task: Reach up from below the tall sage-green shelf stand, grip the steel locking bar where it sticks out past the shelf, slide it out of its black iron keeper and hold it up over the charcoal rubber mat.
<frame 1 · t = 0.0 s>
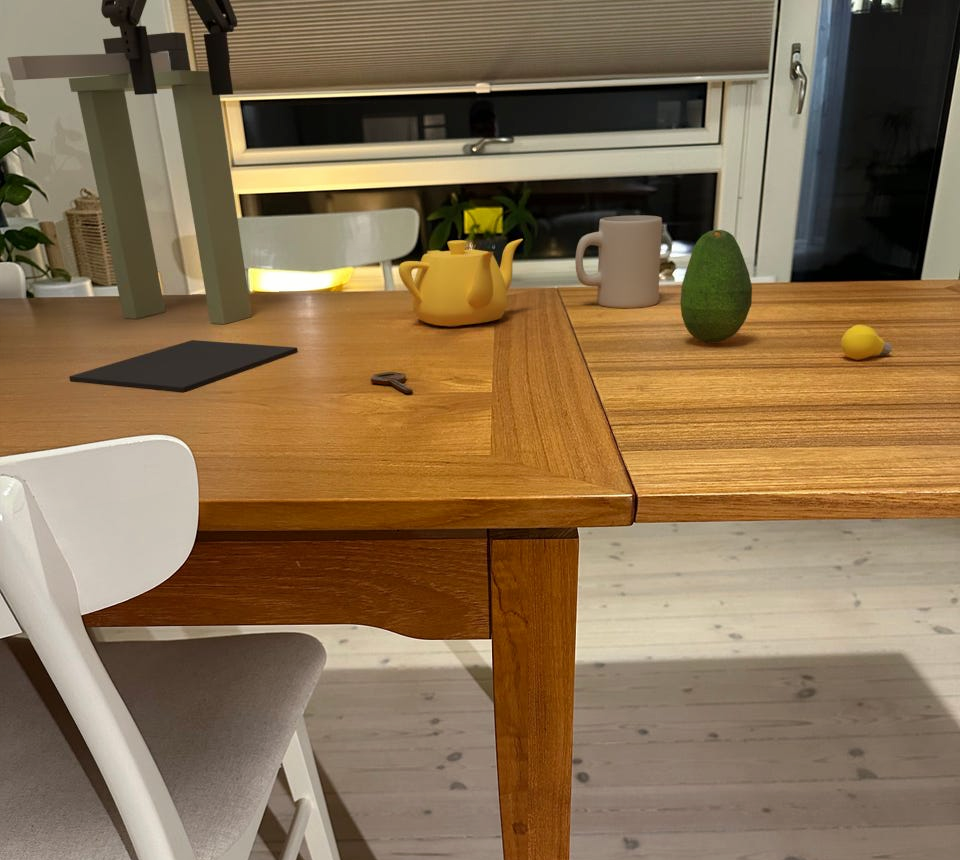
hand: (186, 94, 115), 27 cm above the table, tool pointing down, fingers open, 13 cm apart
mat: (188, 365, 109), on the table
stand: (187, 317, 137), on the table
locking bar: (98, 75, 116), point 30 cm above the table, touching stand
mug: (615, 305, 134), on the table
fruit: (712, 344, 109), on the table
light bulb: (865, 359, 100), on the table
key: (396, 386, 97), on the table
teapot: (467, 322, 127), on the table
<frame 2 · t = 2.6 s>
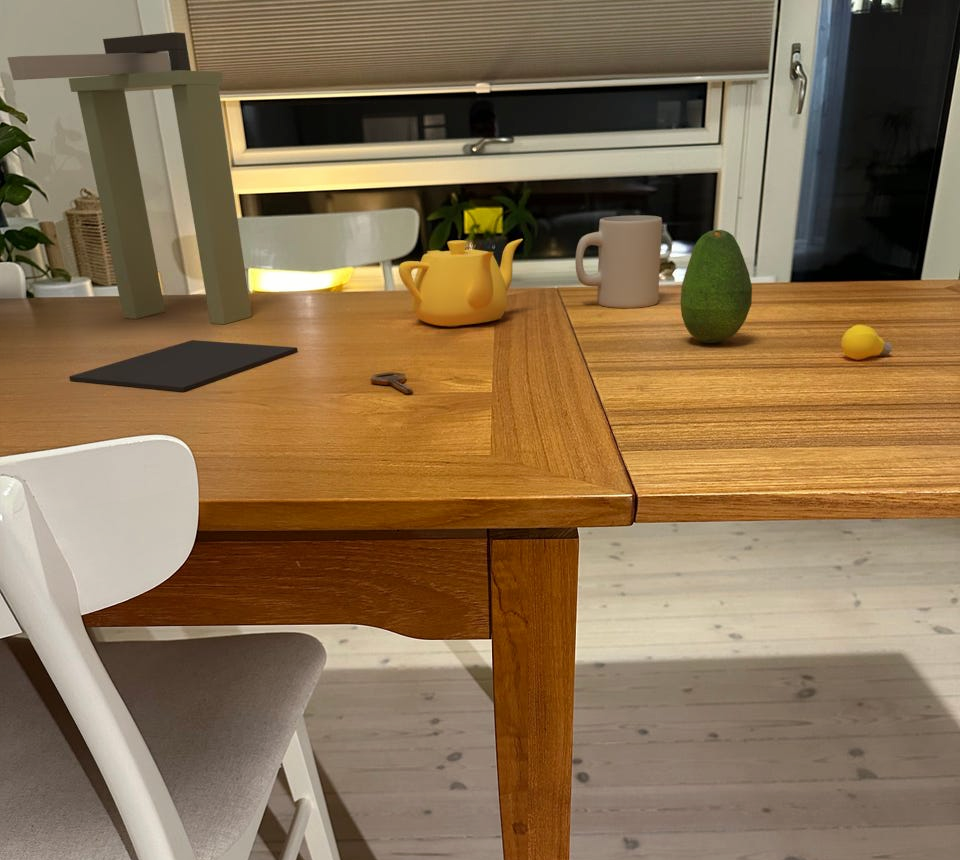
nothing on the table moved.
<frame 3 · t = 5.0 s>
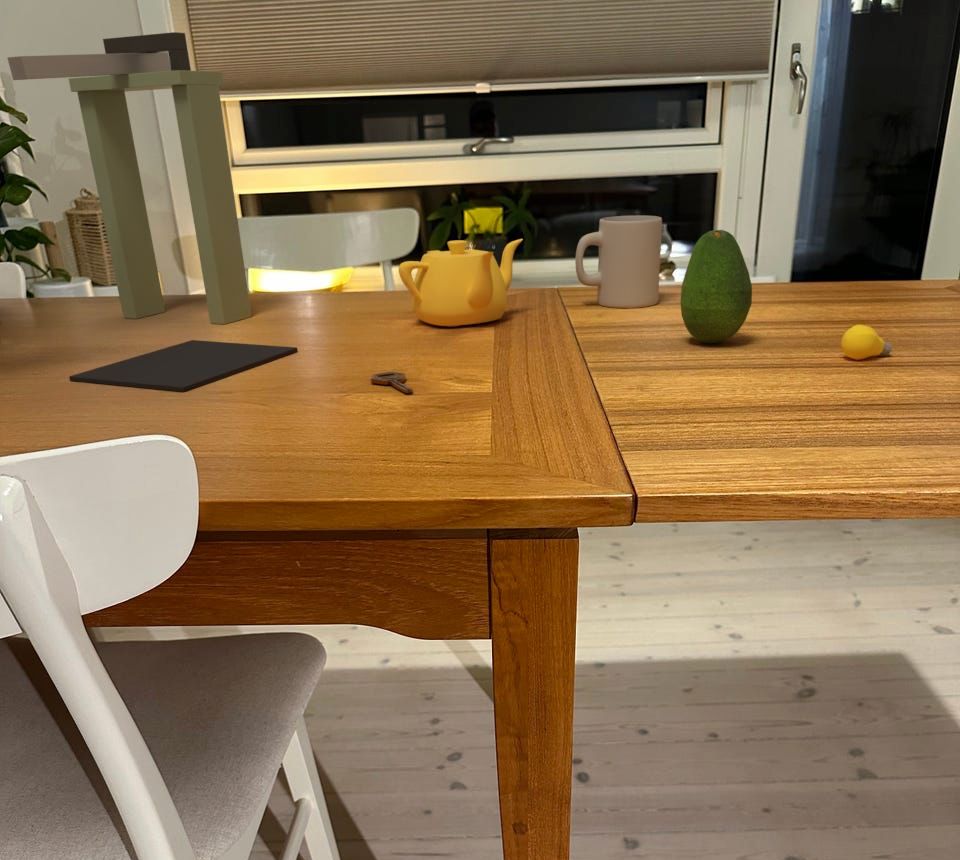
nothing on the table moved.
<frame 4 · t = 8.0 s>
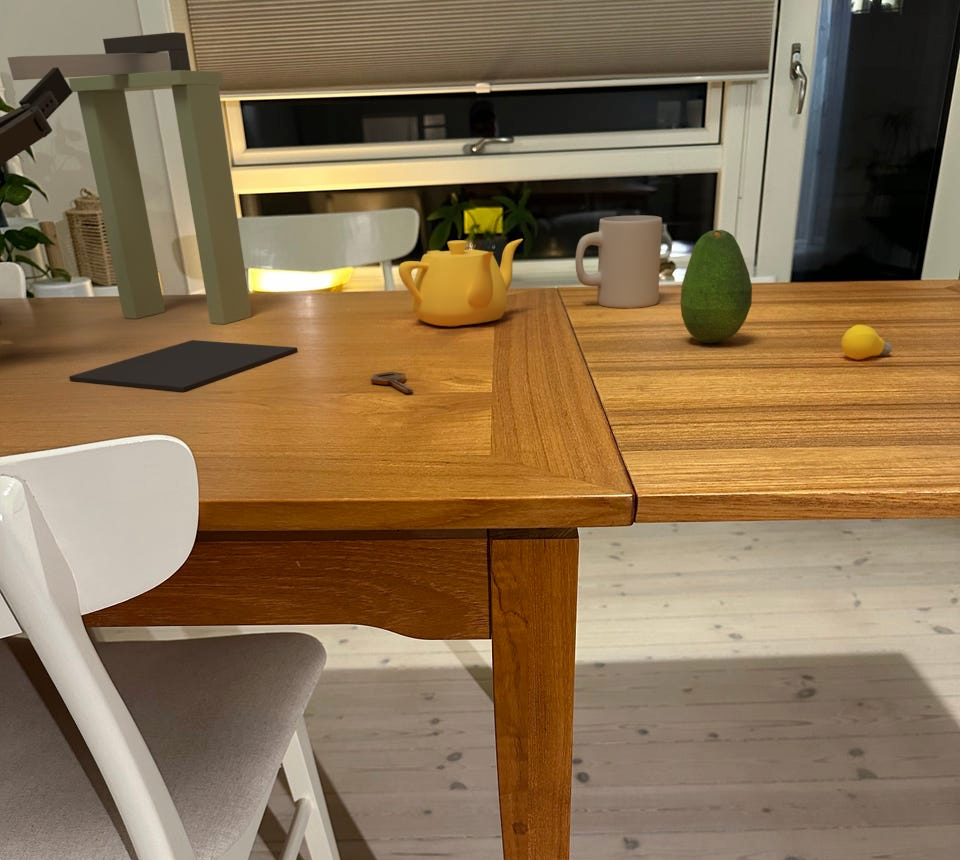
hand: (19, 82, 107), 29 cm above the table, tool pointing upward, fingers open, 13 cm apart
nothing on the table moved.
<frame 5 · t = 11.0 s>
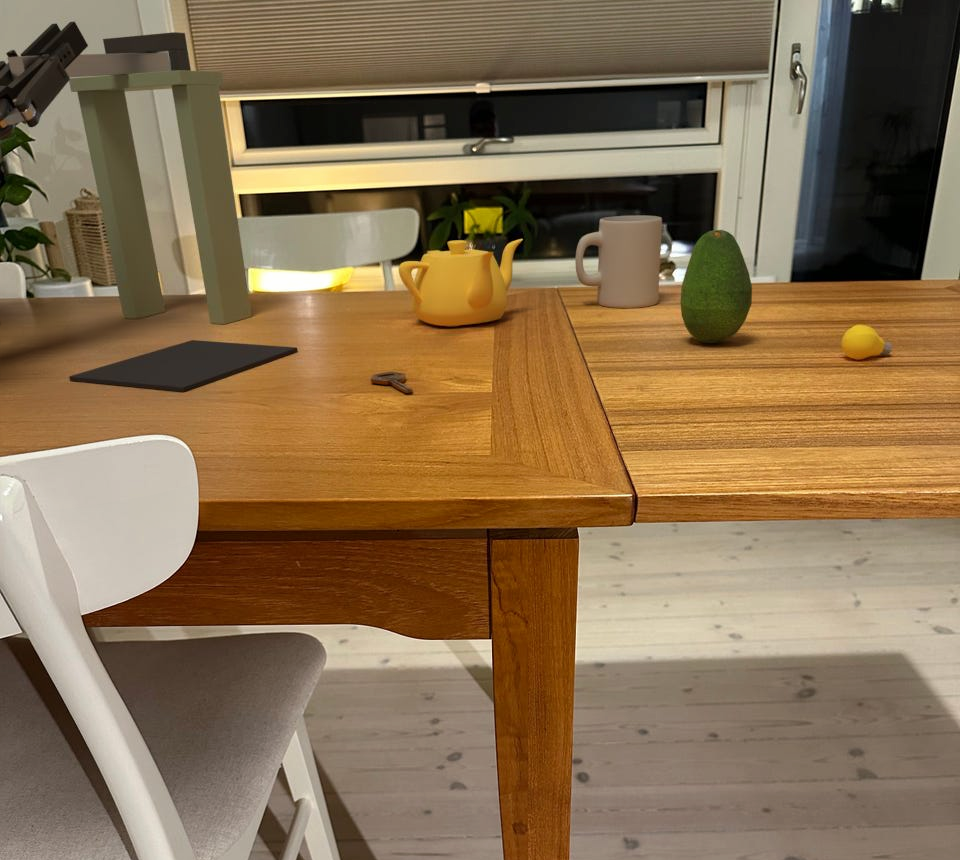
hand: (69, 35, 112), 34 cm above the table, tool pointing upward, fingers closed on locking bar, 2 cm apart
locking bar: (98, 75, 116), point 30 cm above the table, touching gripper, stand
everything else where it was.
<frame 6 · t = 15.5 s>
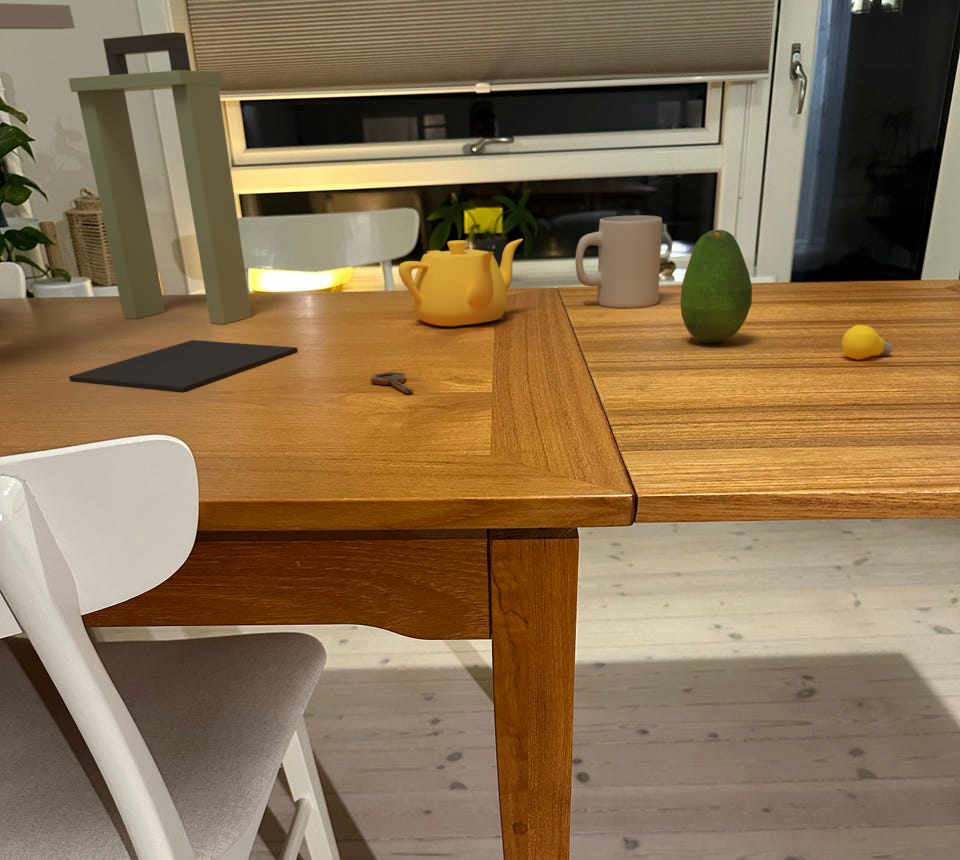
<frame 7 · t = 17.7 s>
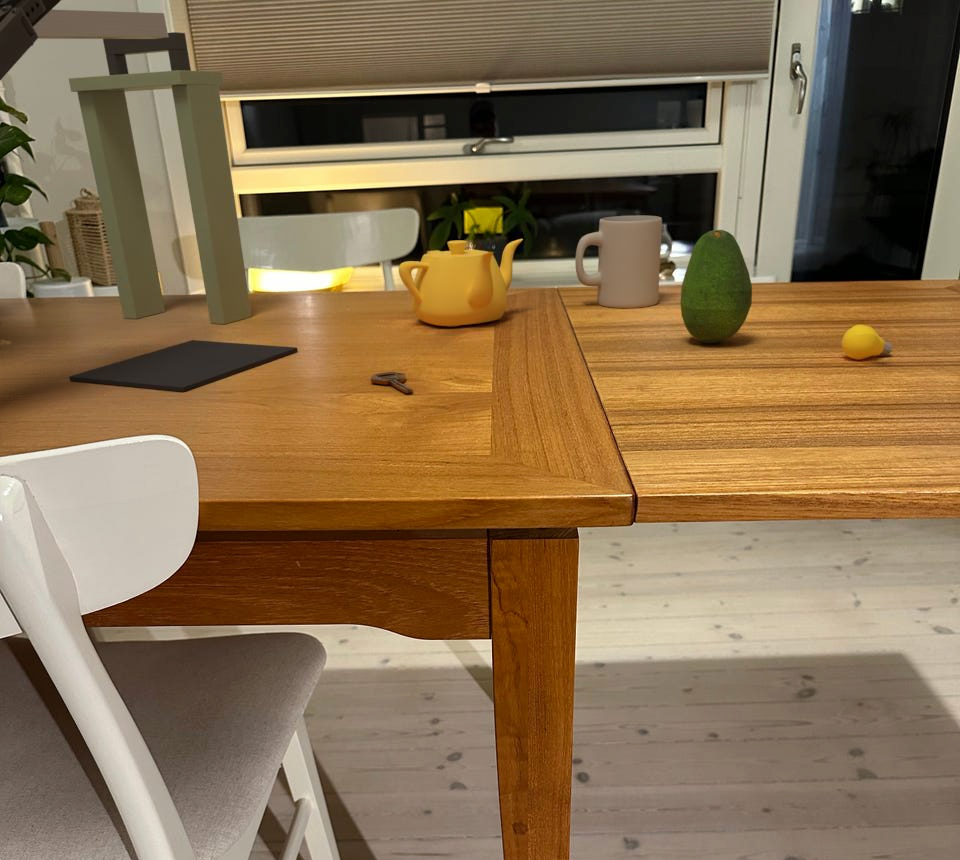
locking bar: (76, 37, 94), point 32 cm above the table, touching gripper
everything else where it was.
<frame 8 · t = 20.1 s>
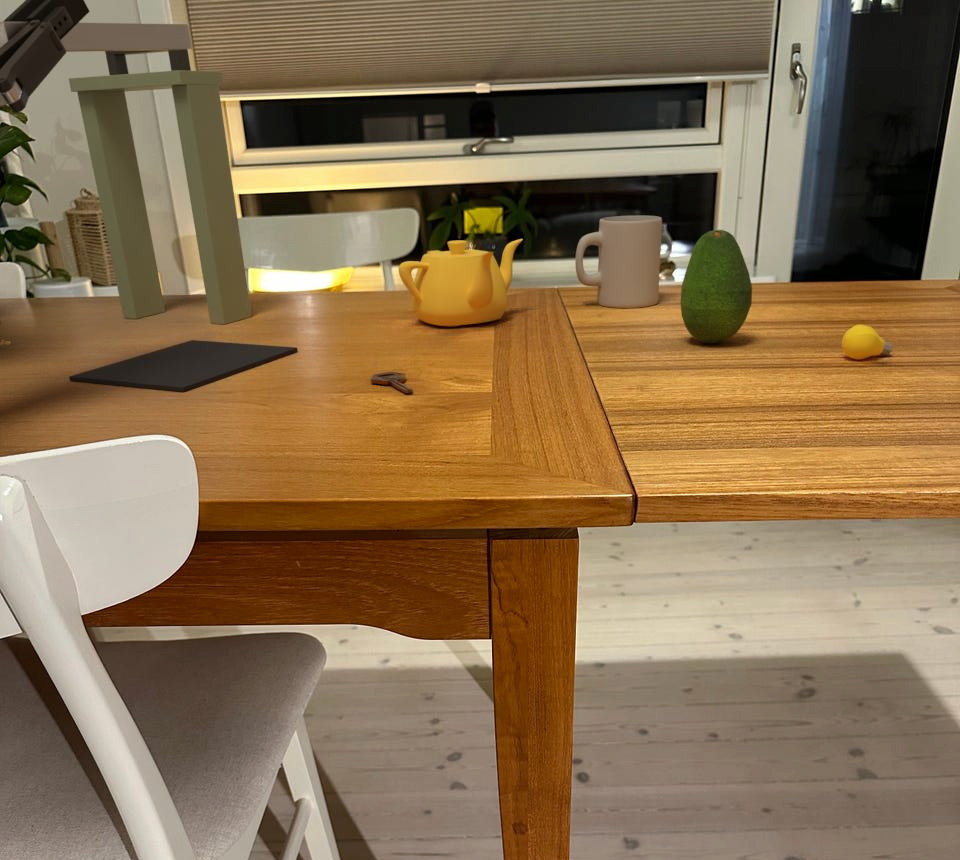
locking bar: (102, 50, 93), point 31 cm above the table, touching gripper
everything else where it was.
at the end: the gripper is holding locking bar; locking bar touching gripper; locking bar inside the target area on the mat (2.8 cm from its centre), point 30.6 cm above the mat's base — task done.
